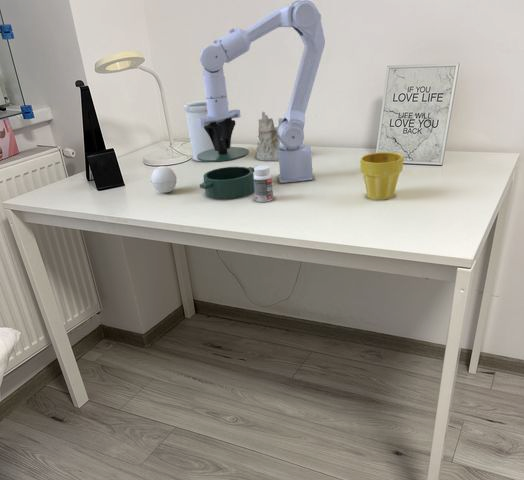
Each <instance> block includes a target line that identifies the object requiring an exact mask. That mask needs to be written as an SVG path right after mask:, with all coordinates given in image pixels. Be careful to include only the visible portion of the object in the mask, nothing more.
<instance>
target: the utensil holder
mask: <svg viewBox="0 0 524 480" xmlns="http://www.w3.org/2000/svg"><path fill="white" fill-rule="evenodd" d="M183 110H184V111H185V116H186V123H187V130H188V136H189V144H190V148H191V154H192V159H193V160H194V161H196V162H201V161H200V160H198V159H197V155H198V154H199V153H201V152H203V151H206V150H210V149H214V146H213V143H212V141H211V139H210V137H209V135H208V133H207V132H206V130H205V129H204V127H197V123H196V119H199V118H202V117H204V116H207V114H208V111H207V103H206V99H205V100H198V101H191V102H187V103H185V104H184V105H183ZM230 147H232V141H231V142H230Z"/></svg>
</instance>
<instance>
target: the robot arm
mask: <svg viewBox="0 0 524 480" xmlns="http://www.w3.org/2000/svg"><path fill="white" fill-rule="evenodd" d="M279 28H293V30H295V32H297V33H298V35H299V38H300V39H301V41H302V43H303V45H304V48H303V51H302V55H301V59H300V61H299V62H300V63H299V65H298V69H297V73H296V77H295V80H294V84H293V88H292V92H291V95H290V98H289V103H288V107H287V108H286V111H285V112H284V114H283V117H282V118H283V120H282V121H281V123H280V124H279V125H277V127H278V128H277V135H278V137H279V139H280V140H281V142H280V144H279V146H278V151H279V161H278V165H279V173H278V174H277V178H278V182H279V183H280V184H285V183H295V182H305V181H306V182H307V181H313V180H314V179H313V178H314V177H313V155H312V148H311V145H304V143H303V142H304V140H305V132H304V130H305V129H304V127H305V124H306V112H307V108H308V104H309V102H310V97H311V95H312V90H313V87H314V84H315V80H316V77H317V74H318V70H319V67H320V63H321V60H322V56H323V52H324V50H325V46H326V38H325V35H324V34H325V33H324V29H323V23H322V14H321V12H320V11H319V9H318V7H317V6H316V5H315V3H314V2H313V1H311V0H295V1H293V2H292V3H290V4H286V5H284V6H282V7H280V8H278V9H276V10H274V11H272V12H271V13H269V14H268V15H266V16H264V17H263V18H261V19H260V20H258V21H257V22H255V23H254V24H253V25H251V26H249V27H248V28H246V29H243V28H241V27H236V29H235V28H234V27H232V28H230V29H229V30H228V32H229V33H227V34H225V35H224V36H222V37H221V38H219V39H216V38H215V39H214V40H212V43H213V45H212V44H211V45H207V46H205V47H203V48H202V50H201V52H200V59H199V62H200V63H201V65H202V67H203V68H202V69H203V70H202V75H203V86H204V94H205V100H206V103H207V111H208V114H207V116H204V117H202V118H199V119H196V123H197V127H204V129H205V130H206V132H207V133H208V135H209V137H210V139H211V141H212V143H213V146H214V149H215V151H222V143H221V138H226V144H227V149H229V148H230V142H231V143H232V135H233V131H234V129H235V126H236V120H234V119H236V118H237V119H239V118H241V109H235V108H234V109H230V110H229V100H228V92H227V84H226V76H225V72H224V65H225V63H226V64H229V63H231V62H232V61H234V60H235V59H237V58H240V56H243V55H244V54H246V53H248V52H249V51H250V48H251V44H252V43H253V42H255V41H257V40H258V39H260V38H262V37H263V36H266V35H267V34H269V33H271V32H273V31H275V30H276V29H279Z"/></svg>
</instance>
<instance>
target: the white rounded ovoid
mask: <svg viewBox="0 0 524 480" xmlns="http://www.w3.org/2000/svg"><path fill="white" fill-rule="evenodd" d="M177 181H178V180H177V174H176V173H175V172H174V170H173V169H172V168H171V167H169V166H165V165H162V166H158V167H156V168H154V170H153V171H152V173H151V176H150V183H151V185H152V187H153V188H154V189H155V190H156V191H157V192H159V193H161V194H167V193H170V192H172V191H173V190H174V189H175V188H176V185H177Z"/></svg>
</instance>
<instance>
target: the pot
mask: <svg viewBox="0 0 524 480" xmlns="http://www.w3.org/2000/svg"><path fill="white" fill-rule="evenodd" d="M254 168H255V167H251V166H249V167H246V166H226V167H218V168H215V169H212V170H209V171H207V172H204V174H203V175H202V176H203V183H199V188H200V189H203V190H204V191H205V196H206V197H207V198H208V199H212V200H219V201H220V200H221V201H226V200H236V199H241V198H245V197H248V196H250V195H252V194H253V193H255V188H254V175H255V173H254Z"/></svg>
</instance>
